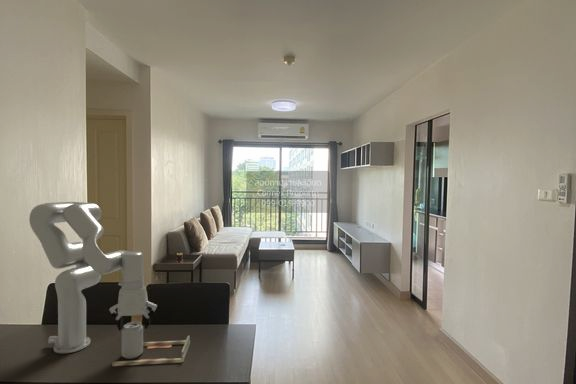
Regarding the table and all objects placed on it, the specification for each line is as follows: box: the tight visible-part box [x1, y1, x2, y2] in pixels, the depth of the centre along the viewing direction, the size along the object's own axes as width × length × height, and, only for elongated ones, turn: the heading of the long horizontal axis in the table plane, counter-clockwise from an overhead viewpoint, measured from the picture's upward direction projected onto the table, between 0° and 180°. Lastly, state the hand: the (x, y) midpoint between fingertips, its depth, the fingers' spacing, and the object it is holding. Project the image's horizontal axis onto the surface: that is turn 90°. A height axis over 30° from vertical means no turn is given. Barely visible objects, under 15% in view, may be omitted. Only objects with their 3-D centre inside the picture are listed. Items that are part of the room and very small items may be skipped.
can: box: [121, 321, 144, 360], centre depth 126 cm, size 8×8×12 cm
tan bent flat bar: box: [111, 335, 191, 367], centre depth 127 cm, size 25×15×4 cm, turn 97°
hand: (133, 328), depth 126 cm, fingers open, 9 cm apart
